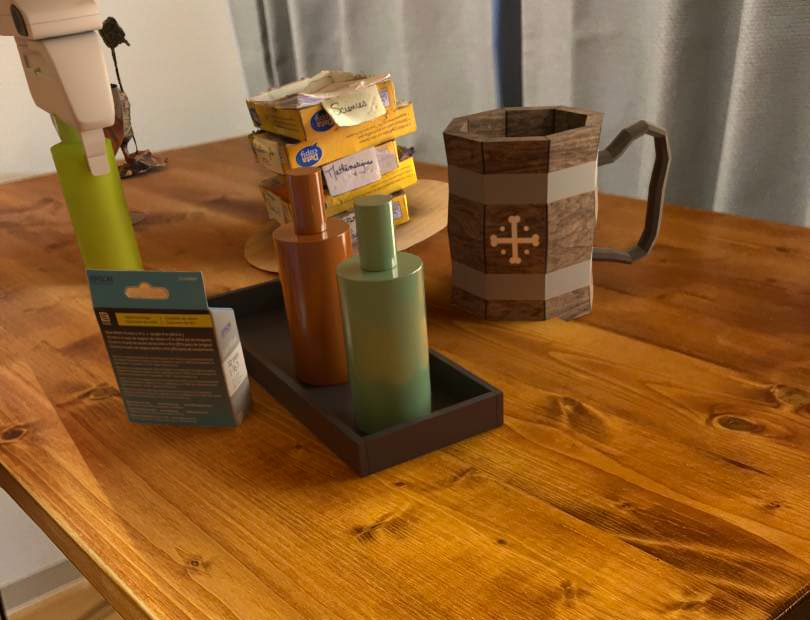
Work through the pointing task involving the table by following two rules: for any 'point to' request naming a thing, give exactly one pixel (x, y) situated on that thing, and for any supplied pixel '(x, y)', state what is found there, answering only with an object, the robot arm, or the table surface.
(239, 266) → the table surface
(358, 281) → the green bottle
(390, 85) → the yellow box stack
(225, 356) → the label tape box
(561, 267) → the mug
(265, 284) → the tray
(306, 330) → the amber bottle
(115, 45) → the plant with pod
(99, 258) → the soap dispenser
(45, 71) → the robot arm
